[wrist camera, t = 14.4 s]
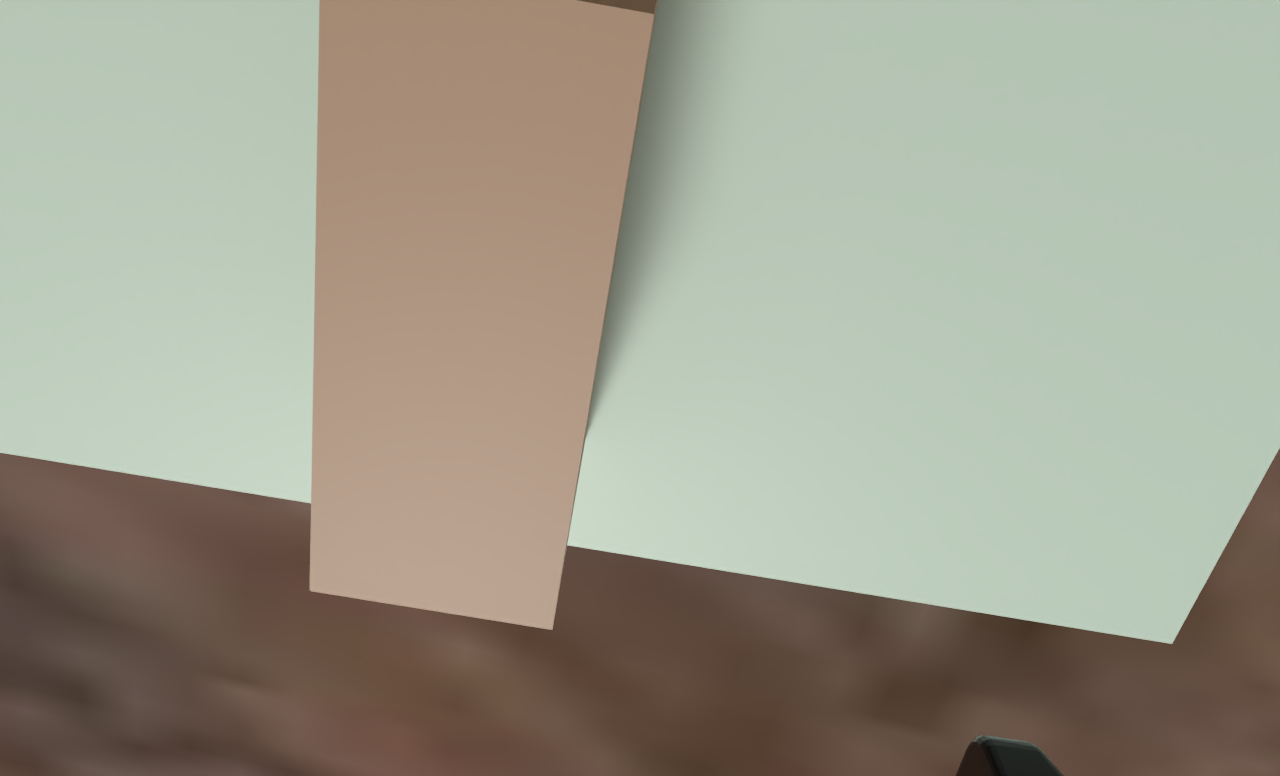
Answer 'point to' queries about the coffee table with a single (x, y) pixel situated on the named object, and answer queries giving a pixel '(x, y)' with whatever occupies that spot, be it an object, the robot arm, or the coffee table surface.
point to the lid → (663, 285)
